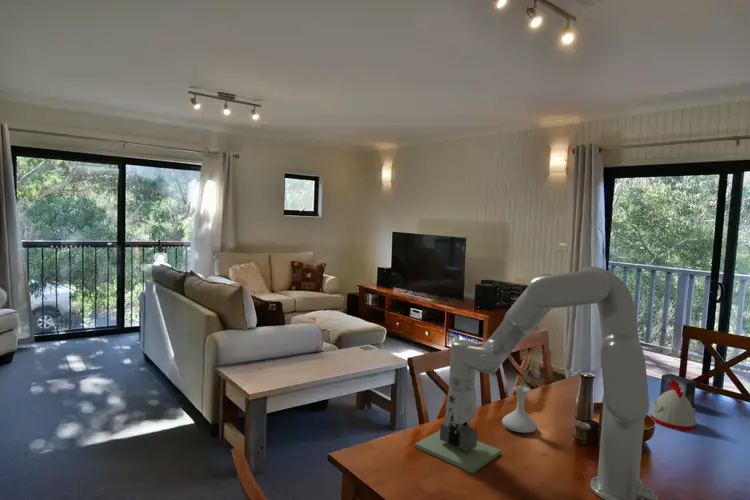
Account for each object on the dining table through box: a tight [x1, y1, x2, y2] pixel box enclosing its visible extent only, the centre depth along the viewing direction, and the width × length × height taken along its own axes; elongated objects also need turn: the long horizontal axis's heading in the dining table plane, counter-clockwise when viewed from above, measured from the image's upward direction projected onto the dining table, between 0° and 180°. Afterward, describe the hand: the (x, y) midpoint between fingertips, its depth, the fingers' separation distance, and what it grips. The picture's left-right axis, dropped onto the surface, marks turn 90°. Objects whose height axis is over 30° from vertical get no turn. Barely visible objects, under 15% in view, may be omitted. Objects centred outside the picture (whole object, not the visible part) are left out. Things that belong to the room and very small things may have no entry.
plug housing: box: [439, 420, 479, 451], centre depth 142 cm, size 10×4×5 cm, turn 48°
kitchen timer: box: [650, 380, 697, 432], centre depth 171 cm, size 14×14×15 cm
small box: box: [659, 373, 697, 408], centre depth 191 cm, size 11×6×10 cm, turn 25°
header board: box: [414, 430, 502, 474], centre depth 142 cm, size 20×16×5 cm
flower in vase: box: [501, 354, 542, 434], centre depth 159 cm, size 13×11×25 cm
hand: (458, 441), depth 142 cm, fingers closed on plug housing, 4 cm apart
